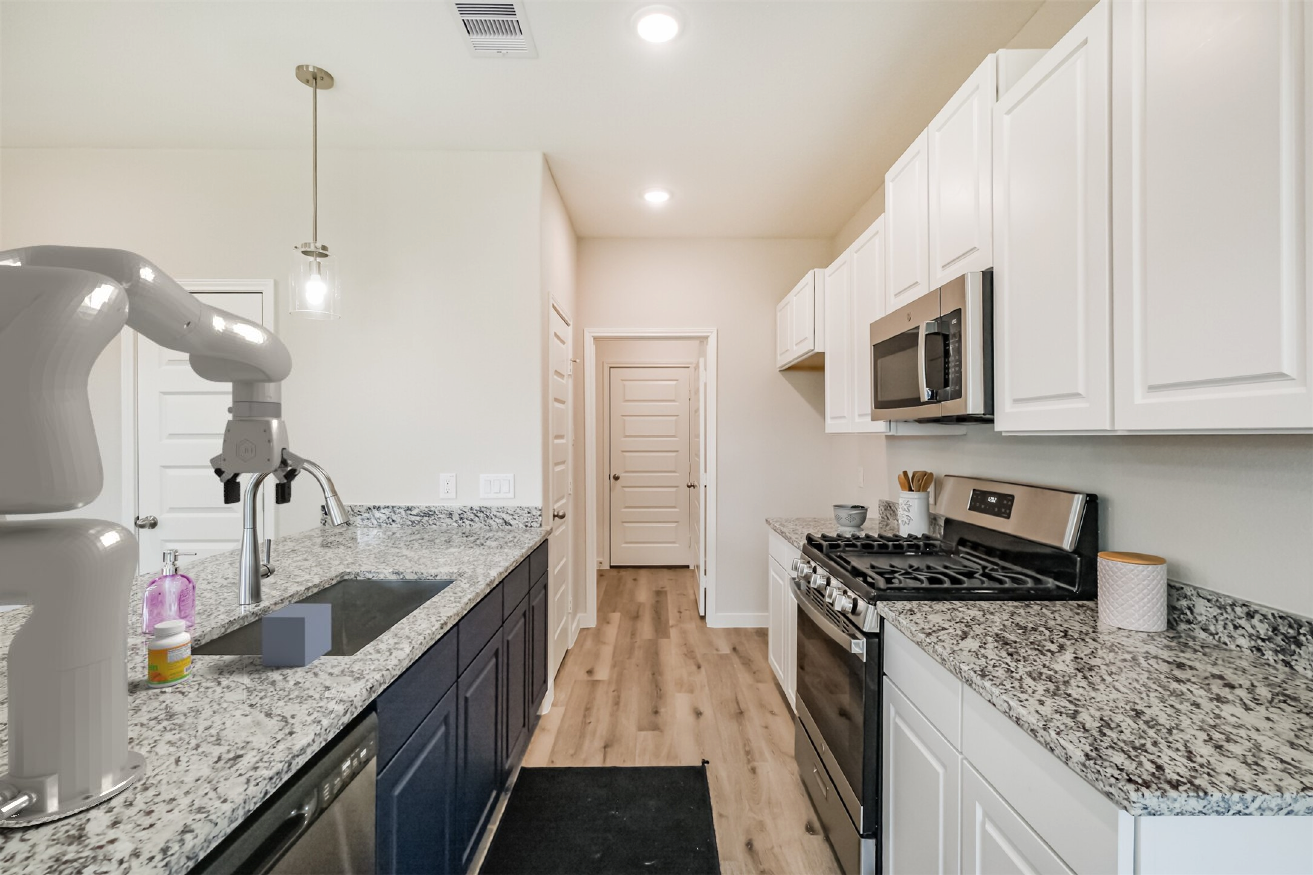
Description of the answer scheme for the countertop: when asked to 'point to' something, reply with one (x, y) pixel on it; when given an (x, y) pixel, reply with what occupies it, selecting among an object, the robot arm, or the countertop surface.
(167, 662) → the supplement bottle
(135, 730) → the countertop surface
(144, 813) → the countertop surface
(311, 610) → the slate blue rectangular box
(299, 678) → the countertop surface
